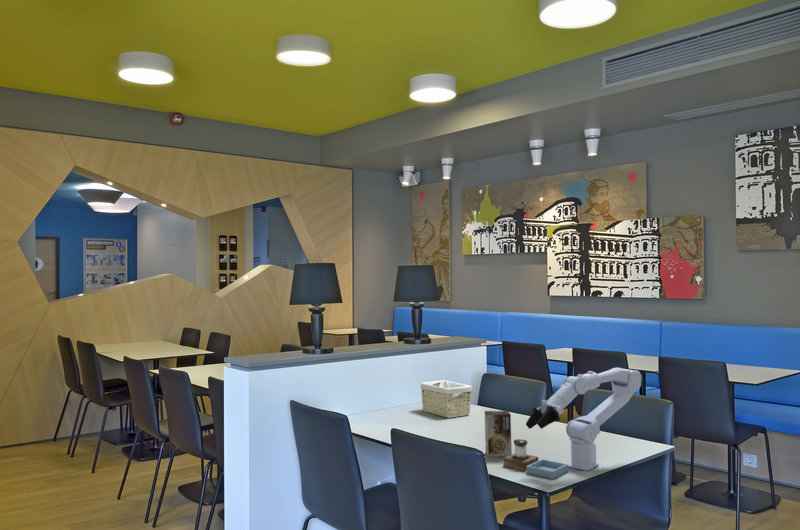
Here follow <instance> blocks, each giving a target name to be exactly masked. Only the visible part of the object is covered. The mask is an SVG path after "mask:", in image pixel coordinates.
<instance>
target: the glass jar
mask: <svg viewBox="0 0 800 530" xmlns="http://www.w3.org/2000/svg"><path fill="white" fill-rule="evenodd" d="M513 444H514V453H515V459H519V460H526V459H527V455H528V454H527V445H528V440H526V439H514V440H513ZM526 454H527V455H526Z"/></svg>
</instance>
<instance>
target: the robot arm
mask: <svg viewBox="0 0 800 530" xmlns="http://www.w3.org/2000/svg"><path fill="white" fill-rule="evenodd" d="M642 377H643V376H642V374H641V372H640V371H639V370H637V369H628V368H627V369H626V368H621V367H617V366H616V367H612V368H611V369H608V370H606V371H603V372H600V373H596V372H594V371H592V370H588V371H587V373H583V374H581V373H579V374H577V375H576V376H574V375H571V376H568V377H565V378H564V379H563V382H562V384H561V386H560V388H559V389H557V390H556V391H555V392H554V394H552V396H551V397H549V398H548V399H547V400H546V399H543V400H541V403H542V405H541V406H540V407H532V409H531V412H530V416H529V417H528V419H527V421H526V423H525V425H526V426H527V428H528V429H532V428H534V427H535V426H536V425H537V426H538V427H539V428H540V429H544V428H546V427H547V426H549V425H550V424H552V423H555V422H558V421H560V420H561V417H560V415H562V414H563V413H564V412H565V408H566V407H568V405H569V404H570V403H572V401H573V400H574V399H575V398H576V397H577V396H578V395H585V394H586V392H587V391H590V390H593V389H594V390H595V389H597V388H599V387H600V386H601V384H603V383H608V382H611V388H612V389H611V390H612V391H613V393H612V394H611V395H610V396H608V397H607V398H606V399H605V400H603V401H602V402H601V403H600V404H598V406H596V407H595V408H594V409H593V410H592V411H590V412H589V413H588V414H587V415H582V416H578V417H577V418H575V419H571V420H570V421H568V422H567V424H566V426H565V427H566V428H565V431H566V432H565V433H566V434H567V436H568V437H569V440H570V461H571V462H570V463H569V464H568V463H567V464H568V468H572V469H578V470H582V471H586V472H588V471H590V470H592V469H594V468H595V467H597V466H599V463H598V462H597V447H596V444H595V440H596V438H597V437H598V435H599V434H600V433H601V428H600V426H602V425H603V424H604V423H605V422H606V421H607V420H609V419H610V418H611V417H612V416H613V415H614V414H616V412H618V411H620V409H622V408H624V406H625V405H626V404H627V403H628V402H629V401H630V400H631V398H632V397H633V395H634V393H635V392H636V391H637V390H639V389H640V388H641V386H642V379H643V378H642Z"/></svg>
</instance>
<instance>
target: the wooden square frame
mask: <svg viewBox="0 0 800 530" xmlns="http://www.w3.org/2000/svg"><path fill="white" fill-rule="evenodd" d="M526 455H527V459H526V460H519V459H515V452H513V453H512V454H511V455H509V456H503V458H502V459H503V460H502V462H503V463H502V464H503V465H502V466H503V467H505V468H508V469H509V468H510V469H514V470H518V471H521V472H522V471H524V472H526V466H528V465H530V464H532V463H535V462H537V461H539V456H537V455H536V456H535V455H530V454H527V453H526Z"/></svg>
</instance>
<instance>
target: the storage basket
mask: <svg viewBox="0 0 800 530" xmlns="http://www.w3.org/2000/svg"><path fill="white" fill-rule="evenodd" d="M420 389H421V404H422V412H425V413H430V414H432V415H436V416H439V417H442V418H448V419H450V418H457V417H463V416H469V415H470V412H471V410H470V409H471V400H472V398H471V397H472V392H473V386H472V385H469V384H465V383H461V382H455V381H451V380H447V379H442V380H434V381H433V380H432V381H425V382H424V381H423V382H421V383H420Z"/></svg>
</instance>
